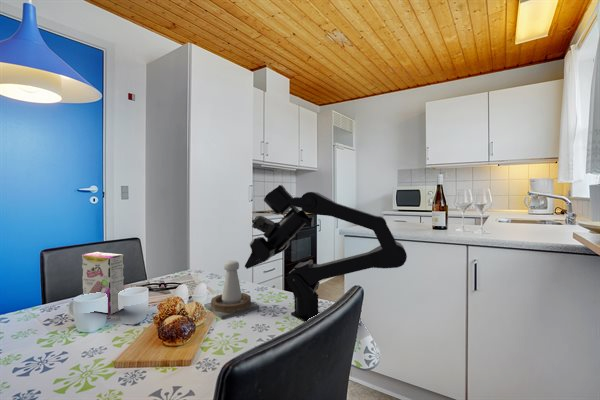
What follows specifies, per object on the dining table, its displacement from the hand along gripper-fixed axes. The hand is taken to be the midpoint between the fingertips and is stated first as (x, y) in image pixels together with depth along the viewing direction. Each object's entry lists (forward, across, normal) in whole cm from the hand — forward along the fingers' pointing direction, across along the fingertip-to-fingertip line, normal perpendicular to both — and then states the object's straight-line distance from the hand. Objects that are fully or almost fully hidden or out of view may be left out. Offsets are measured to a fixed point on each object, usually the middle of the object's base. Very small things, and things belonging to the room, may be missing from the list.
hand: (252, 263), depth 87 cm
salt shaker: (+14, 0, +4) cm, 15 cm away
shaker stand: (+14, 0, +5) cm, 15 cm away
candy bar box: (+40, +11, -20) cm, 46 cm away
